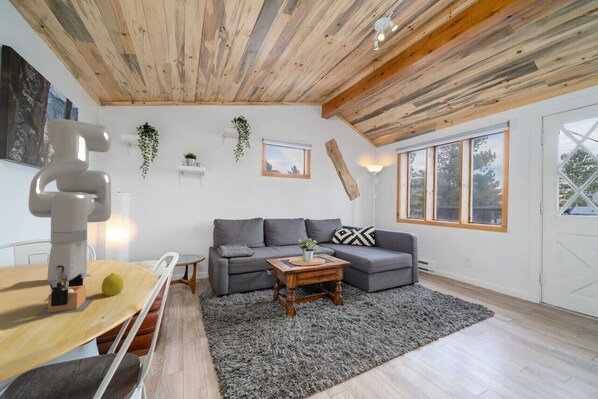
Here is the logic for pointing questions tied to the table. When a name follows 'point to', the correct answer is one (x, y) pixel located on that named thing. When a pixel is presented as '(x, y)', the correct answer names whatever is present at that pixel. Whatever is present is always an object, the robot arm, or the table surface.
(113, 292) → the lemon
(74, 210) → the robot arm
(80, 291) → the collar
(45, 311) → the plate
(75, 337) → the table surface
